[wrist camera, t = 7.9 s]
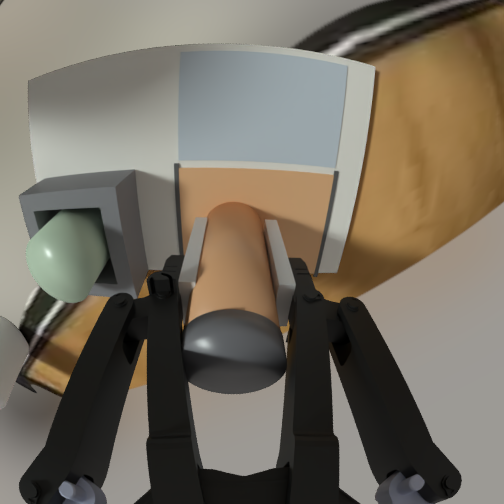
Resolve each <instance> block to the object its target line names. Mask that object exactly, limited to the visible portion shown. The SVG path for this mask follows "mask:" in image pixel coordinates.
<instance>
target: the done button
mask: <svg viewBox="0 0 504 504" xmlns="http://www.w3.org/2000/svg"><path fill="white" fill-rule="evenodd" d="M109 258H110V252H109V248H108V244H107V239H106V235H105V230H104V225H103V220H102V215H101V210H100V209H99V208H98V207H97V208H76V209H62V210H61V211H60V212H59V213H58V214H57V215H55V216H54V217H53V218H52V219H51V220H50V221H49V222H48V223H47V224H46V225H45V226H44V227H43V228H42V229H40V230H39V231H38V232H37V233H36V234H35V235H34V236H33V237H32V238H31V240H30V241H29V243H28V245H27V248H26V260H27V264H28V267H29V270H30V272H31V274H32V276H33V278H34V279H35V281H36V282H37V283H38V284H39V286H40V287H41V288H42V289H43V290H44V291H46V292H47V293H48V294H49V295H51V296H53V297H54V298H56V299H58V300H61V301H64V302H68V303H76V302H80V301H82V300H84V299H85V298H86V297H87V296H88V294H89V292H90V290H91V289H92V287H93V285H94V283H95V282H96V280H97V278H98V276H99V275H100V273H101V271H102V270H103V268H104V266H105V265H106V263H107V261H108V260H109Z"/></svg>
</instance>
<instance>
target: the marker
mask: <svg viewBox="0 0 504 504" xmlns="http://www.w3.org/2000/svg"><path fill="white" fill-rule="evenodd" d="M207 218H208V220H207V225H206V230H205V235H204V240H203V246H202V251H201V257H200V262H199V268H198V274H197V279H196V285H195V287H194V288H193V289H192V291H191V293H190V296H189V301H188V306H187V312H186V318H185V323H184V329H183V332H182V335H181V350H182V356H183V361H184V366H185V371H186V375H187V380H188V382H190V383H192V384H193V385H195V386H197V387H199V388H202V389H204V390H208V391H211V392H216V393H223V394H243V393H249V392H254V391H258V390H261V389H264V388H266V387H269V386H271V385H272V384H274V383H275V382H277V381H278V380H279V379H280V378H281V377H282V376H283V375H284V373H285V372H286V369H287V358H286V353H285V347H284V341H283V335H282V332H281V330H280V324H279V318H278V313H277V307H276V301H275V295H274V289H273V284H272V278H271V272H270V266H269V261H268V255H267V250H266V244H265V238H264V233H263V228H262V222H261V219H260V217H259V215H258V214H257V212H256V211H255V210H254V209H253V208H251V207H250V206H248V205H246V204H243V203H240V202H226V203H223V204H220V205H218V206H216V207H215V208H213V209H212V210H211V211H210V212H209V214H208V215H207Z"/></svg>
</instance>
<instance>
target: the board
mask: <svg viewBox="0 0 504 504" xmlns="http://www.w3.org/2000/svg"><path fill="white" fill-rule="evenodd" d="M374 77H375V66H371V65H368V64H364V63H361V62H357V61H353V60H349V59H345V58H341V57H337V56H332V55H327V54H322V53H317V52H311V51H305V50H299V49H292V48H284V47H275V46H263V45H250V44H189V45H175V46H165V47H156V48H148V49H141V50H136V51H129V52H124V53H119V54H113V55H109V56H104V57H100V58H96V59H92V60H88V61H84V62H81V63H78V64H74V65H71V66H68V67H64V68H62V69H59V70H55V71H53V72H50V73H47V74H44V75H42V76H39V77H37V78H34V79H32V80H30V81H28V112H29V128H30V140H31V149H32V157H33V163H34V170H35V176H36V182H37V184H35V185H34V186H32V187H31V188H29V189H28V190H26V191H25V192H23V193H22V194H21V195H19V199H20V204H21V208H22V212H23V215H24V219H25V223H26V227H27V230H28V233H29V236H30V240H31V238H32V237H33V236H34V235H35V234H36V233H37V232H38V231H39V230H40V229H42V228H43V227H44V226H45V225H46V224H47V223H48V222H49V221H50V220H51V219H52V218H53V217H54V216H55V215H57V214H58V213H59V212H60V211H61V210H62V209H76V208H97V207H98V208H99V209H100V210H101V215H102V220H103V225H104V230H105V235H106V239H107V244H108V248H109V252H110V258H109V260H108V261H107V263H106V265H105V266H104V268H103V270H102V271H101V273H100V275H99V276H98V278H97V280H96V282H95V283H94V285H93V287H92V289H91V290H90V292H89V294H88V295H94V296H106V297H111V296H113V295H115V294H117V293H128V294H130V295H131V296H132V297H133V299H137V298H138V295H139V293H140V290H141V288H142V285H143V282H144V280H145V277H146V275H147V272H148V270H163V267H164V264H165V261H166V259H167V258H168V257H170V256H171V255H185V254H186V250H187V246H188V243H189V239H190V235H191V232H192V228H193V225H194V221H195V218H196V217H207V215H208V214H209V212H210V211H211V210H212V209H213V208H215V207H216V206H218V205H220V204H223V203H226V202H240V203H243V204H246V205H248V206H250V207H251V208H253V209H254V210H255V211H256V212H257V214H258V215H259V217H260V219H261V222H262V228H263V233H264V223H265V219H266V220H277V223H278V226H279V230H280V233H281V236H282V239H283V243H284V246H285V249H286V253H287V256H288V258H301V259H302V260H303V261H304V262H305V263H306V265H307V267H308V270H309V273H310V274H314V275H313V277H317V275H318V273H337V271H338V268H339V264H340V260H341V257H342V253H343V249H344V245H345V242H346V238H347V234H348V230H349V225H350V221H351V217H352V213H353V208H354V204H355V199H356V195H357V190H358V185H359V180H360V175H361V170H362V164H363V159H364V153H365V147H366V141H367V134H368V128H369V121H370V113H371V105H372V97H373V87H374Z"/></svg>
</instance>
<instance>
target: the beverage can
mask: <svg viewBox="0 0 504 504" xmlns="http://www.w3.org/2000/svg"><path fill="white" fill-rule="evenodd" d="M28 352H29V346H28V343H27V341H26V339H25V338H24V336H23V335H22V333H21V332H20V331H19V329H18V328H17V327H16V326H15V325H13V324H12V323H11V322H10V321H9V320H7V319H6V318H4V317H2V316H0V409H1V408H3V407H5V406H6V404H7V401H8V398H9V395H10V393H11V391H12V388H13V386H14V383H15V381H16V379H17V376H18V374H19V372H20V370H21V367H22V365H23V363H24V361H25V359H26V357H27V355H28Z"/></svg>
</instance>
